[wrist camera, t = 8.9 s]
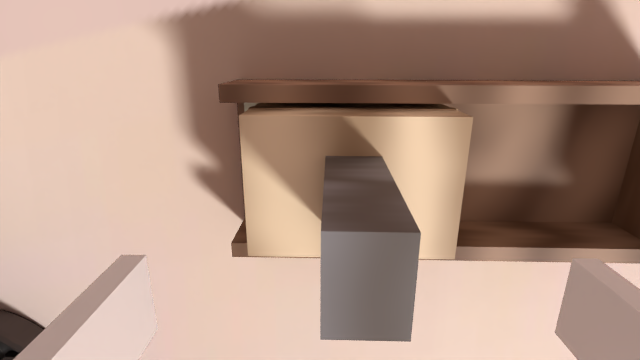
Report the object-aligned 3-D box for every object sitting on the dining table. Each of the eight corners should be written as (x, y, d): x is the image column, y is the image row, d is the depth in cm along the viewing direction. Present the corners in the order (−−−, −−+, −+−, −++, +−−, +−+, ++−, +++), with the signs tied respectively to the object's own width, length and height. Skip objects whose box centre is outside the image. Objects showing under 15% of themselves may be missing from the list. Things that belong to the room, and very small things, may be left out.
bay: (248, 225, 29) (218, 285, 21) (238, 79, 26) (198, 89, 18) (614, 230, 28) (718, 294, 21) (655, 81, 25) (798, 91, 17)
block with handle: (264, 215, 27) (192, 385, 13) (259, 101, 25) (162, 161, 11) (429, 217, 27) (537, 394, 13) (441, 102, 25) (592, 164, 10)
